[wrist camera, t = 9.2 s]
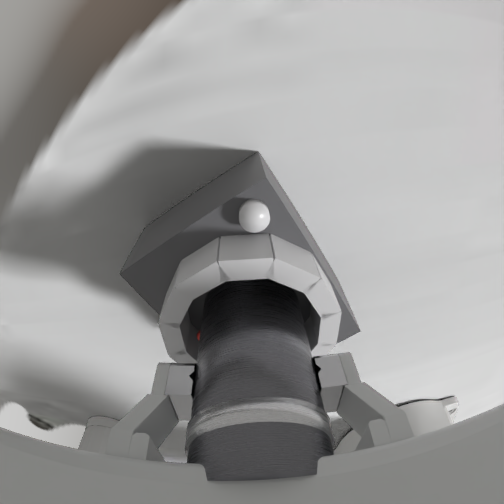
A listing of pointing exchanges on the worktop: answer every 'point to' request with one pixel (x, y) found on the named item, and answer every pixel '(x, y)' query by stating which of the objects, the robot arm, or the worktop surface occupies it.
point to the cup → (97, 434)
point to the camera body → (235, 259)
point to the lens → (256, 387)
